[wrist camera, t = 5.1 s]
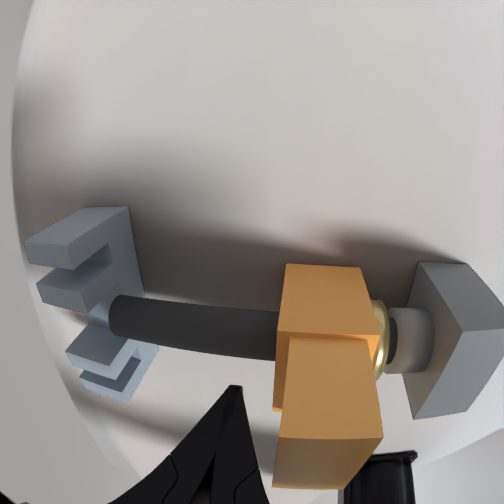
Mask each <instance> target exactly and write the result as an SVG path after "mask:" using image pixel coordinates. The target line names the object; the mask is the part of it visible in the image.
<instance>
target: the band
mask: <svg viewBox="0 0 504 504" xmlns="http://www.w3.org/2000/svg"><path fill="white" fill-rule="evenodd" d="M371 303H372V306H373V310H374V313H375V317H376V320H377V323H378V327H379V331H380V334H381V336H380V339H379V342H378V345H377V348H376V351H375V354H374V357H373V360H372V366H373V371H374V377H375V381H377V380H378V379H379V378H380V376H381V374H382V372H383V370H384V367H385V364H386V360H387V356H388V350H389V339H390V327H389V317H388V312H387V309H386V306H385V304H384V302H383V301H382V300H371Z"/></svg>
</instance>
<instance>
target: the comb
mask: <svg viewBox="0 0 504 504" xmlns="http://www.w3.org/2000/svg"><path fill="white" fill-rule="evenodd" d="M23 244H24V248H25V251H26V254H27V258H28V261H29V263H31V264H37V265H44V266H50V267H56V268H55V269H54V270H53V271H51V272H50V273H49V274H47V275H46V276H45V277H44V278H42V279H41V280H40V281H39V282H37V283H36V285H37V288H38V291H39V293H40V296H41V298H42V301H43V303H47V304H50V305H54V306H58V307H62V308H65V309H69V310H73V311H77V312H81V313H86V316H87V319H88V321H89V324H88V325H87V326H86V327H85V329H84V330H83V331H82V332H81V333H80V334H79V335H78V337H77V338H76V339H75V340H74V341H73V342H72V343H71V345H70V346H69V347H68V348H67V349H66V351H65V353H66V355H67V356H68V358H69V360H70V362H71V364H72V365H73V366H76V367H79V368H81V369H84V371H83V372H82V374H81V375H80V376H79V379H80V380H81V382H82V384H83V386H84V387H85V389H87V390H90V391H92V392H95V393H98V394H100V395H103V396H106V397H109V398H111V399H114V400H117V401H120V402H123V403H126V404H128V403H129V401H130V399H131V398H132V396H133V394H134V392H135V391H136V389H137V387H138V385H139V384H140V382H141V380H142V378H143V376H144V375H145V373H146V371H147V369H148V368H149V366H150V364H151V363H152V361H153V359H154V357H155V356H156V354H157V352H158V350H159V348H158V345H156V344H151V343H146V342H141V341H137V340H132V339H128V338H123V337H119V336H115V335H114V334H113V333H112V332H111V330H110V327H109V322H108V314H109V309H110V306H111V303H112V301H113V300H114V299H115V297H116V296H118V295H128V296H135V297H142V298H145V294H144V289H143V285H142V280H141V276H140V271H139V266H138V261H137V256H136V250H135V245H134V239H133V234H132V227H131V221H130V215H129V208H128V206H123V207H85V208H82V209H80V210H78V211H76V212H74V213H72V214H70V215H68V216H67V217H65V218H63V219H61V220H59V221H57V222H56V223H54V224H52V225H50V226H49V227H47V228H45V229H43V230H42V231H40V232H38V233H37V234H35V235H33V236H32V237H30V238H28V239H27V240H25V241H23Z"/></svg>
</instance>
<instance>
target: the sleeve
mask: <svg viewBox="0 0 504 504" xmlns="http://www.w3.org/2000/svg"><path fill="white" fill-rule="evenodd" d="M380 336H381V334H380V331H379V327H378V323H377V320H376V317H375V313H374V310H373V306H372V303H371V300H370V297H369V294H368V290H367V287H366V284H365V281H364V278H363V275H362V272H361V269H360V268H359V267H341V266H323V265H305V264H288V263H286V270H285V278H284V285H283V293H282V300H281V307H280V314H279V321H278V328H277V343H276V361H275V377H274V393H273V407H272V411H276V412H282V416H281V424H280V431H279V439H278V446H277V453H276V461H275V467H274V474H273V481H272V487H275V488H288V489H319V490H324V489H344V488H345V487H346V486H347V484H348V483H349V482H350V481H351V480H352V478H353V477H354V476H355V475H356V474H357V472H358V471H359V470H360V469H361V467H362V466H363V465H364V464H365V462H366V461H367V460H368V458H369V457H370V456H371V454H372V453H373V452H374V450H375V449H376V447H377V446H378V445H379V443H380V442H381V440H382V439H383V438H384V436H383V428H382V421H381V414H380V407H379V400H378V394H377V388H376V382H375V377H374V371H373V366H372V360H373V357H374V354H375V351H376V348H377V345H378V342H379V339H380Z"/></svg>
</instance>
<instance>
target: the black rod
mask: <svg viewBox="0 0 504 504" xmlns="http://www.w3.org/2000/svg"><path fill="white" fill-rule="evenodd" d="M279 314H280V312H270V311H257V310H246V309H235V308H224V307H215V306H205V305H196V304H188V303H179V302H171V301H164V300H156V299H149V298H142V297H135V296H128V295H118V296H116V297H115V299H114V300H113V301H112V303H111V306H110V309H109V314H108V322H109V327H110V330H111V332H112V333H113V334H114V335H115V336H119V337H123V338H128V339H132V340H137V341H141V342H146V343H151V344H156V345H161V346H167V347H172V348H178V349H184V350H190V351H196V352H202V353H209V354H216V355H224V356H232V357H240V358H249V359H259V360H269V361H276V343H277V328H278V321H279ZM389 327H390V339H389V350H388V356H387V360H386V364H385V365H388V364H390V363H391V362H392V361H393V359H394V357H395V354H396V350H397V343H398V331H397V325H396V322H395V319H394V318H393V317H389Z"/></svg>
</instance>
